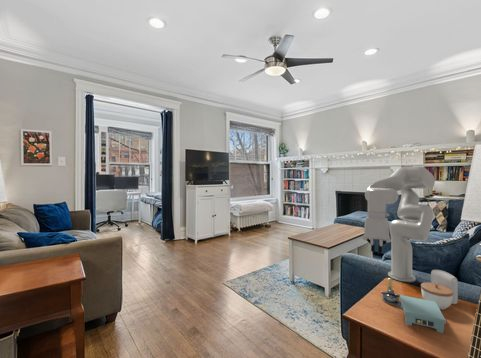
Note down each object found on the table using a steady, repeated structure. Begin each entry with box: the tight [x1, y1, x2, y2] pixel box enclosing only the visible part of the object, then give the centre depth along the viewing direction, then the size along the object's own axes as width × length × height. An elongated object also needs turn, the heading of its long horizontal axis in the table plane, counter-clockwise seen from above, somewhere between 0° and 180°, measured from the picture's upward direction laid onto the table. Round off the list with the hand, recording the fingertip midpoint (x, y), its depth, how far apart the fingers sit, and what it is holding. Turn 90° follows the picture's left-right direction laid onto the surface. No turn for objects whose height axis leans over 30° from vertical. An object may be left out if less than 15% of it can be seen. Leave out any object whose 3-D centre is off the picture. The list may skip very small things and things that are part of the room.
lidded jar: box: [420, 282, 453, 311], centre depth 102 cm, size 11×11×9 cm
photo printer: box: [430, 269, 459, 305], centre depth 108 cm, size 10×4×12 cm, turn 9°
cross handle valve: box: [380, 277, 401, 303], centre depth 107 cm, size 10×7×7 cm
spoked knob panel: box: [381, 294, 447, 334], centre depth 97 cm, size 22×18×5 cm
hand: (376, 253), depth 113 cm, fingers closed
